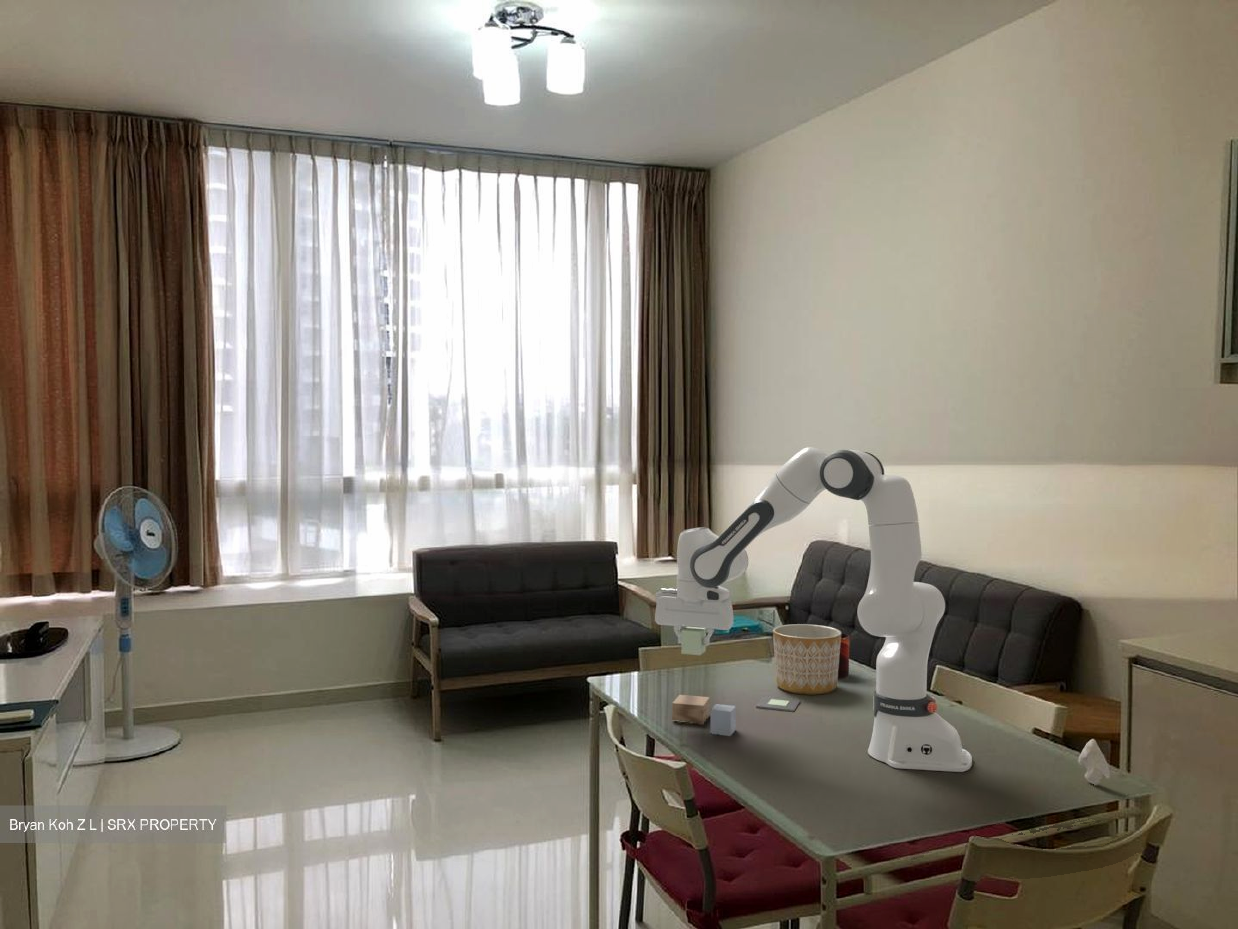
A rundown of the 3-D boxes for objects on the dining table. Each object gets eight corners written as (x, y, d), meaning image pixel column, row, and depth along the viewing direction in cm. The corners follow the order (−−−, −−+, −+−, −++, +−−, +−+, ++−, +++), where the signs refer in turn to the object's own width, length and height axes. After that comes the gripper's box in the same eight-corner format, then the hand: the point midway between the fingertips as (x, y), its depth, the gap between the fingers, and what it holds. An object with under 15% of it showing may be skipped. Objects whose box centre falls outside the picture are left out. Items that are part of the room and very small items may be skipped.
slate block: (735, 730, 237) (735, 706, 237) (730, 736, 232) (730, 711, 232) (715, 728, 239) (716, 704, 239) (710, 734, 234) (710, 709, 234)
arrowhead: (1073, 779, 204) (1074, 733, 203) (1082, 778, 205) (1083, 731, 204) (1104, 793, 196) (1105, 744, 196) (1114, 791, 197) (1115, 743, 197)
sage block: (705, 651, 248) (705, 628, 247) (700, 655, 243) (700, 631, 243) (687, 649, 249) (687, 626, 249) (681, 653, 245) (681, 630, 244)
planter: (767, 679, 286) (768, 624, 285) (832, 679, 286) (833, 624, 285) (778, 697, 267) (778, 638, 266) (847, 697, 266) (848, 638, 266)
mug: (837, 667, 300) (837, 629, 300) (853, 678, 287) (854, 638, 286) (807, 668, 299) (807, 629, 299) (822, 679, 285) (823, 639, 285)
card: (800, 701, 262) (800, 699, 262) (793, 711, 252) (793, 709, 252) (764, 698, 265) (764, 695, 265) (756, 707, 256) (756, 705, 256)
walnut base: (709, 716, 249) (709, 697, 249) (703, 725, 241) (703, 705, 241) (679, 713, 251) (679, 694, 251) (672, 722, 244) (672, 703, 244)
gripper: (651, 589, 246) (651, 643, 247) (729, 595, 239) (728, 650, 240) (659, 586, 252) (659, 638, 253) (735, 591, 245) (735, 645, 245)
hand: (693, 644), depth 246 cm, fingers closed on sage block, 5 cm apart
